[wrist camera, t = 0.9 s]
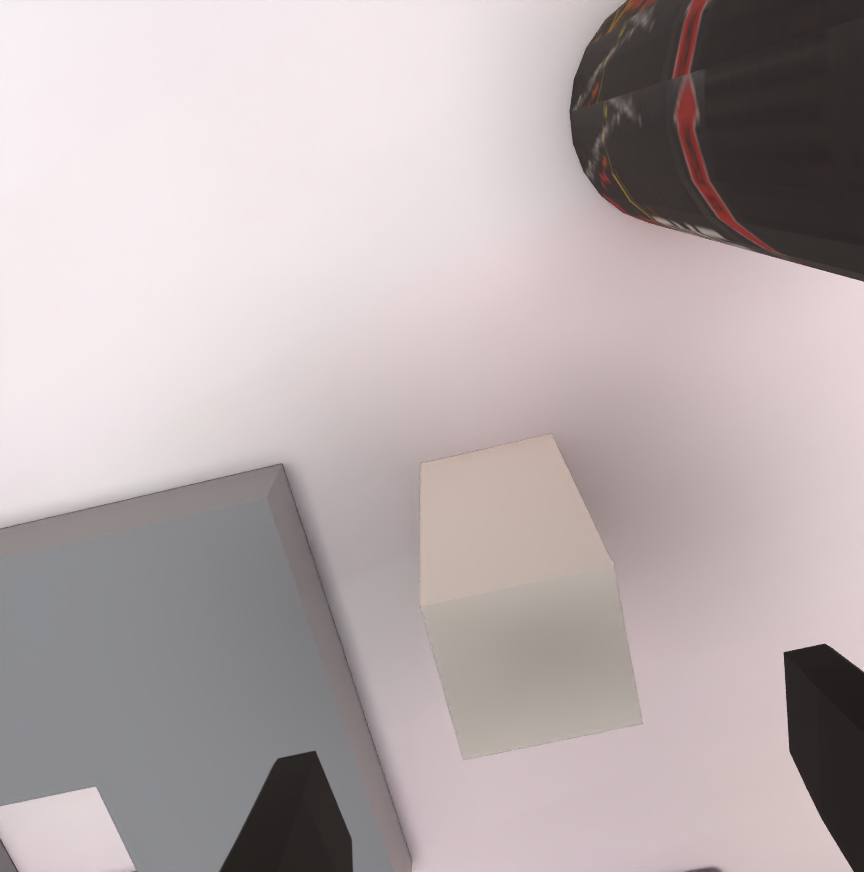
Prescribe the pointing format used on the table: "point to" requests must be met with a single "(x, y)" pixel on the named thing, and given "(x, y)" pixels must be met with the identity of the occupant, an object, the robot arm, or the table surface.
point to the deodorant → (732, 123)
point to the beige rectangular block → (520, 601)
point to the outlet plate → (180, 671)
